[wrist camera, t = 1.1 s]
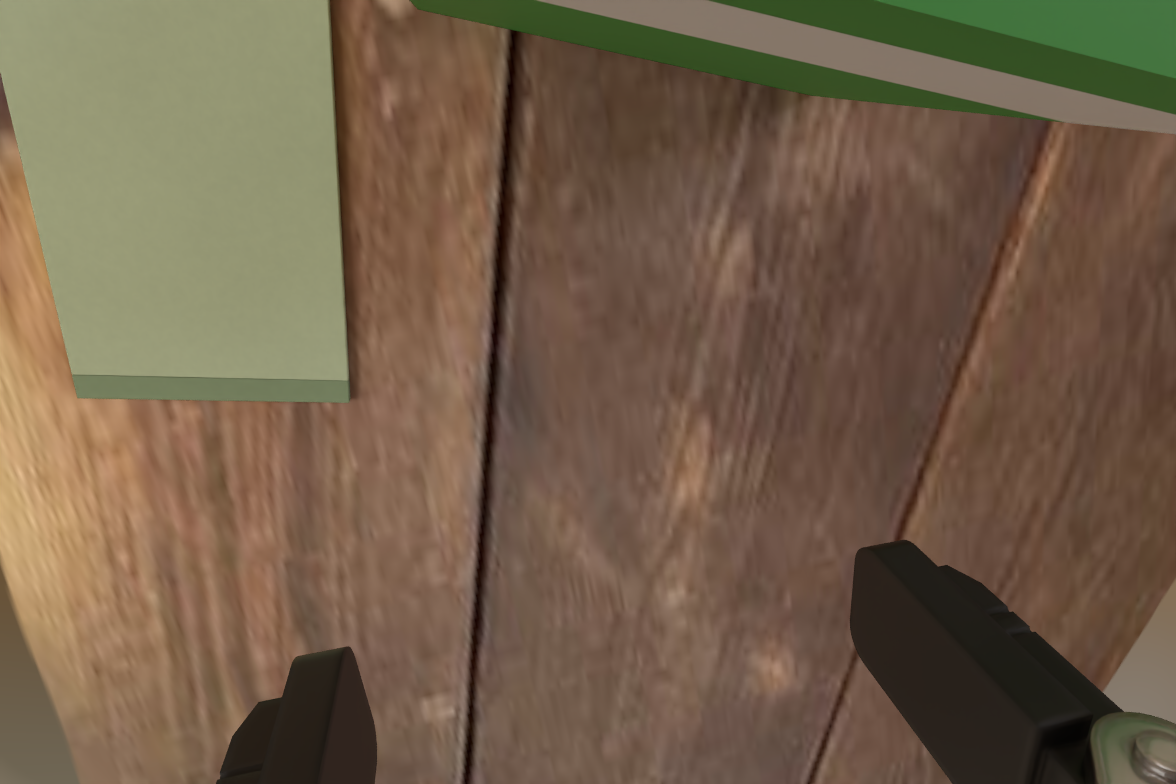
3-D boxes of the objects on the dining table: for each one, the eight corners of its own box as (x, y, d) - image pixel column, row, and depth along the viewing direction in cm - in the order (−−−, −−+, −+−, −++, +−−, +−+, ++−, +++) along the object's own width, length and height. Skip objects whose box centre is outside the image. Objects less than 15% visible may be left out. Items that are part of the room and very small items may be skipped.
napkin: (-41, -128, 24) (-49, -131, 23) (326, -76, 26) (324, -79, 26) (81, 394, 32) (77, 398, 32) (350, 399, 34) (349, 403, 34)
